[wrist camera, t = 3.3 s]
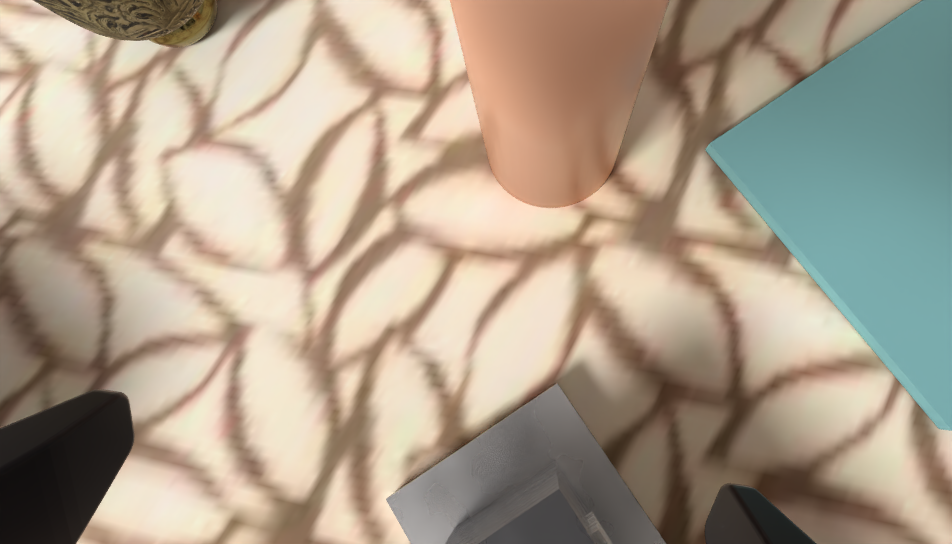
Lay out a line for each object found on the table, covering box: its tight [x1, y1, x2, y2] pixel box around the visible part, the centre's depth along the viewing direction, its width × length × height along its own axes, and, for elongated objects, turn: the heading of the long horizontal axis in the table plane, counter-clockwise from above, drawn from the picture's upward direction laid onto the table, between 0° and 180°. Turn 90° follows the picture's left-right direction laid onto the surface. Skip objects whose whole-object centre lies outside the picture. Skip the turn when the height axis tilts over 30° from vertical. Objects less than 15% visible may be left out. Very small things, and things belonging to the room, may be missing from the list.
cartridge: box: [450, 0, 669, 208], centre depth 15 cm, size 5×5×14 cm
